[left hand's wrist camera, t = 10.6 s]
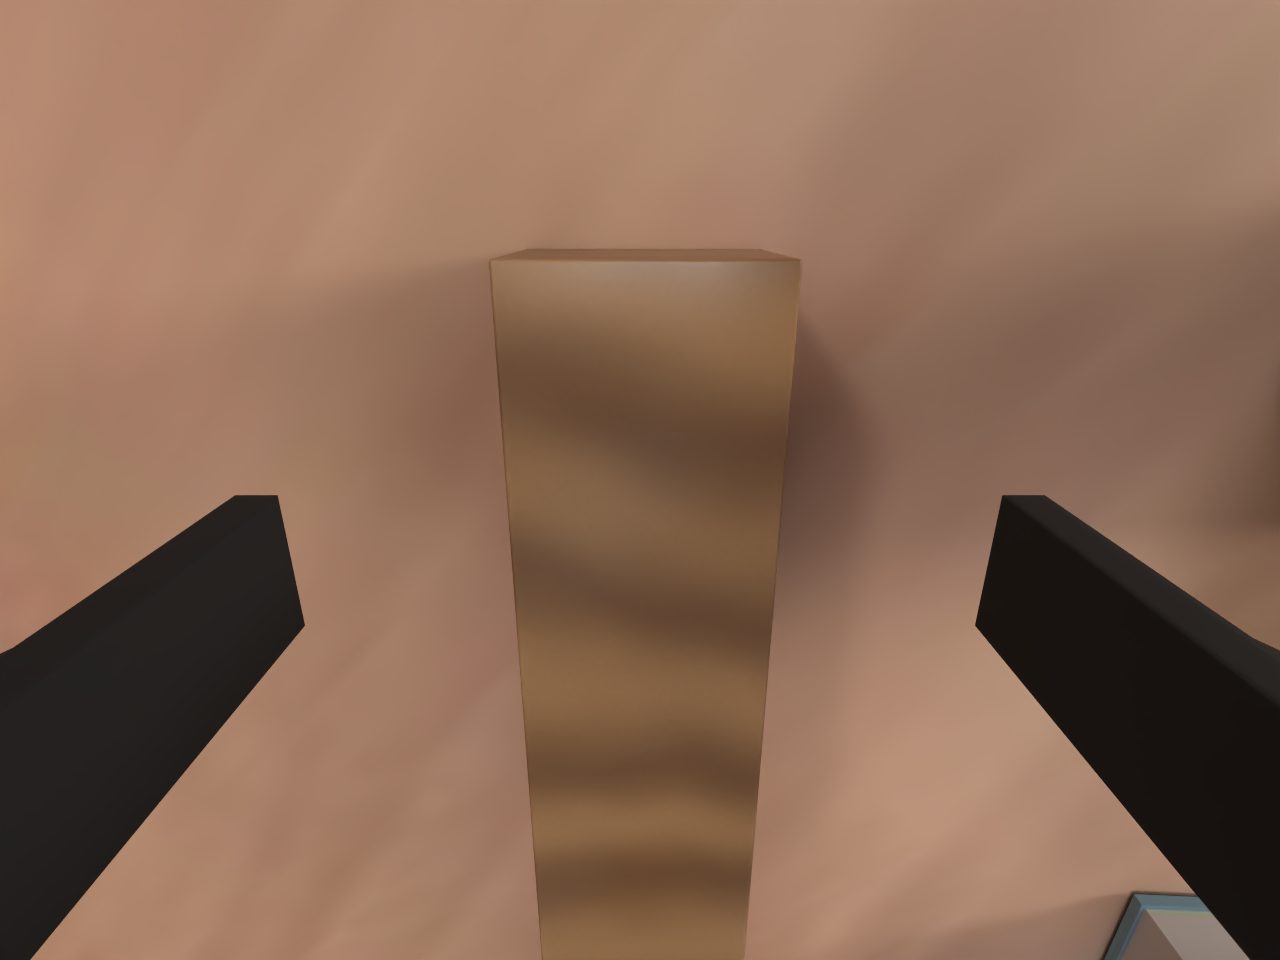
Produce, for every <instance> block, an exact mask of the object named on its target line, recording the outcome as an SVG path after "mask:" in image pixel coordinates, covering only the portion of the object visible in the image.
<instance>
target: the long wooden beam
mask: <svg viewBox="0 0 1280 960" xmlns="http://www.w3.org/2000/svg"><path fill="white" fill-rule="evenodd" d="M489 268H490V281H491V295H492V308H493V321H494V334H495V347H496V360H497V373H498V386H499V400H500V413H501V426H502V439H503V452H504V465H505V478H506V492H507V505H508V518H509V531H510V544H511V557H512V570H513V584H514V597H515V610H516V623H517V636H518V649H519V662H520V675H521V689H522V702H523V715H524V728H525V741H526V754H527V767H528V781H529V794H530V807H531V820H532V833H533V846H534V859H535V872H536V886H537V899H538V912H539V925H540V938H541V951H542V960H744V955H745V943H746V931H747V919H748V907H749V895H750V883H751V871H752V859H753V847H754V835H755V823H756V811H757V799H758V787H759V775H760V763H761V751H762V739H763V727H764V715H765V703H766V691H767V679H768V667H769V655H770V643H771V631H772V619H773V607H774V595H775V583H776V571H777V559H778V547H779V535H780V523H781V511H782V499H783V487H784V475H785V463H786V451H787V439H788V427H789V415H790V403H791V391H792V379H793V367H794V355H795V343H796V331H797V319H798V307H799V295H800V283H801V271H802V260H800V259H796V258H792V257H788V256H785V255H781V254H777V253H773V252H769V251H765V250H761V249H527V250H523V251H519V252H516V253H512V254H509V255H505V256H501V257H498V258H494V259H491V260H490V261H489Z"/></svg>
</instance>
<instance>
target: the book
mask: <svg viewBox="0 0 1280 960" xmlns="http://www.w3.org/2000/svg"><path fill="white" fill-rule="evenodd" d="M1104 960H1250V959H1249V958H1248V957H1247V956H1246V954H1245V953H1244V952H1243V951H1242V950H1241V948H1240V947H1239V946H1238V945H1237V944H1236V942H1235V941H1234V940H1233V939H1232V937H1231V936H1230V935H1229V934H1228V933H1227V931H1226V930H1225V929H1224V928H1223V926H1222V925H1221V924H1220V923H1219V922H1218V920H1217V919H1216V918H1215V917H1214V916H1213V914H1212V913H1211V912H1210V911H1209V909H1208V908H1207V907H1206V906H1205V905H1204V903H1203V902H1202V901H1201V900H1200V898H1199V897H1189V896H1166V895H1143V894H1134V895H1133V898H1132V900H1131V902H1130V904H1129V906H1128V908H1127V911H1126V913H1125V915H1124V917H1123V919H1122V922H1121V924H1120V926H1119V928H1118V930H1117V933H1116V935H1115V937H1114V939H1113V941H1112V944H1111V946H1110V948H1109V950H1108V952H1107V955H1106V957H1105V959H1104Z"/></svg>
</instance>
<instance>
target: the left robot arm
mask: <svg viewBox="0 0 1280 960" xmlns="http://www.w3.org/2000/svg"><path fill="white" fill-rule="evenodd" d="M304 626H305V624H304V619H303V614H302V609H301V605H300V600H299V595H298V590H297V586H296V581H295V576H294V571H293V566H292V562H291V557H290V552H289V547H288V543H287V538H286V533H285V528H284V524H283V519H282V514H281V509H280V505H279V500H278V495H235V496H234V497H232V498H231V499H229V500H228V501H226V502H225V503H223V504H222V505H221V506H219V507H218V508H216V509H215V510H213V511H212V512H210V513H209V514H207V515H206V516H205V517H203V518H202V519H200V520H199V521H197V522H196V523H194V524H193V525H191V526H190V527H188V528H187V529H186V530H184V531H183V532H181V533H180V534H178V535H177V536H175V537H174V538H172V539H171V540H170V541H168V542H167V543H165V544H164V545H162V546H161V547H159V548H158V549H156V550H155V551H153V552H152V553H151V554H149V555H148V556H146V557H145V558H143V559H142V560H140V561H139V562H137V563H136V564H135V565H133V566H132V567H130V568H129V569H127V570H126V571H124V572H123V573H121V574H120V575H119V576H117V577H116V578H114V579H113V580H111V581H110V582H108V583H107V584H105V585H104V586H102V587H101V588H100V589H98V590H97V591H95V592H94V593H92V594H91V595H89V596H88V597H86V598H85V599H84V600H82V601H81V602H79V603H78V604H76V605H75V606H73V607H72V608H70V609H69V610H67V611H66V612H65V613H63V614H62V615H60V616H59V617H57V618H56V619H54V620H53V621H51V622H50V623H49V624H47V625H46V626H44V627H43V628H41V629H40V630H38V631H37V632H35V633H34V634H32V635H31V636H30V637H28V638H27V639H25V640H24V641H22V642H21V643H19V644H18V645H16V646H15V647H14V648H11V649H9V650H7V651H5V652H3V653H1V654H0V960H30V959H31V958H32V957H33V956H34V954H35V953H36V952H37V951H38V950H39V948H40V947H41V946H42V945H43V944H44V942H45V941H46V940H47V939H48V937H49V936H50V935H51V934H52V933H53V931H54V930H55V929H56V928H57V926H58V925H59V924H60V923H61V922H62V920H63V919H64V918H65V917H66V916H67V914H68V913H69V912H70V911H71V909H72V908H73V907H74V906H75V905H76V903H77V902H78V901H79V900H80V898H81V897H82V896H83V895H84V894H85V892H86V891H87V890H88V889H89V888H90V886H91V885H92V884H93V883H94V881H95V880H96V879H97V878H98V877H99V875H100V874H101V873H102V872H103V871H104V869H105V868H106V867H107V866H108V864H109V863H110V862H111V861H112V860H113V858H114V857H115V856H116V855H117V853H118V852H119V851H120V850H121V849H122V847H123V846H124V845H125V844H126V843H127V841H128V840H129V839H130V838H131V836H132V835H133V834H134V833H135V832H136V830H137V829H138V828H139V827H140V825H141V824H142V823H143V822H144V821H145V819H146V818H147V817H148V816H149V815H150V813H151V812H152V811H153V810H154V808H155V807H156V806H157V805H158V804H159V802H160V801H161V800H162V799H163V798H164V796H165V795H166V794H167V793H168V791H169V790H170V789H171V788H172V787H173V785H174V784H175V783H176V782H177V780H178V779H179V778H180V777H181V776H182V774H183V773H184V772H185V771H186V770H187V768H188V767H189V766H190V765H191V763H192V762H193V761H194V760H195V759H196V757H197V756H198V755H199V754H200V752H201V751H202V750H203V749H204V748H205V746H206V745H207V744H208V743H209V742H210V740H211V739H212V738H213V737H214V735H215V734H216V733H217V732H218V731H219V729H220V728H221V727H222V726H223V725H224V723H225V722H226V721H227V720H228V718H229V717H230V716H231V715H232V714H233V712H234V711H235V710H236V709H237V707H238V706H239V705H240V704H241V703H242V701H243V700H244V699H245V698H246V697H247V695H248V694H249V693H250V692H251V690H252V689H253V688H254V687H255V686H256V684H257V683H258V682H259V681H260V679H261V678H262V677H263V676H264V675H265V673H266V672H267V671H268V670H269V669H270V667H271V666H272V665H273V664H274V662H275V661H276V660H277V659H278V658H279V656H280V655H281V654H282V653H283V651H284V650H285V649H286V648H287V647H288V645H289V644H290V643H291V642H292V641H293V639H294V638H295V637H296V636H297V634H298V633H299V632H300V631H301V630H302V628H303V627H304ZM975 626H976V627H977V628H978V630H979V631H980V632H981V633H982V634H983V636H984V637H985V638H986V639H987V641H988V642H989V643H990V644H991V645H992V647H993V648H994V649H995V650H996V652H997V653H998V654H999V655H1000V656H1001V658H1002V659H1003V660H1004V661H1005V662H1006V664H1007V665H1008V666H1009V667H1010V669H1011V670H1012V671H1013V672H1014V673H1015V675H1016V676H1017V677H1018V678H1019V679H1020V681H1021V682H1022V683H1023V684H1024V686H1025V687H1026V688H1027V689H1028V690H1029V692H1030V693H1031V694H1032V695H1033V697H1034V698H1035V699H1036V700H1037V701H1038V703H1039V704H1040V705H1041V706H1042V707H1043V709H1044V710H1045V711H1046V712H1047V714H1048V715H1049V716H1050V717H1051V718H1052V720H1053V721H1054V722H1055V723H1056V725H1057V726H1058V727H1059V728H1060V729H1061V731H1062V732H1063V733H1064V734H1065V735H1066V737H1067V738H1068V739H1069V740H1070V742H1071V743H1072V744H1073V745H1074V746H1075V748H1076V749H1077V750H1078V751H1079V752H1080V754H1081V755H1082V756H1083V757H1084V759H1085V760H1086V761H1087V762H1088V763H1089V765H1090V766H1091V767H1092V768H1093V770H1094V771H1095V772H1096V773H1097V774H1098V776H1099V777H1100V778H1101V779H1102V780H1103V782H1104V783H1105V784H1106V785H1107V787H1108V788H1109V789H1110V790H1111V791H1112V793H1113V794H1114V795H1115V796H1116V798H1117V799H1118V800H1119V801H1120V802H1121V804H1122V805H1123V806H1124V807H1125V808H1126V810H1127V811H1128V812H1129V813H1130V815H1131V816H1132V817H1133V818H1134V819H1135V821H1136V822H1137V823H1138V824H1139V825H1140V827H1141V828H1142V829H1143V830H1144V832H1145V833H1146V834H1147V835H1148V836H1149V838H1150V839H1151V840H1152V841H1153V843H1154V844H1155V845H1156V846H1157V847H1158V849H1159V850H1160V851H1161V852H1162V853H1163V855H1164V856H1165V857H1166V858H1167V860H1168V861H1169V862H1170V863H1171V864H1172V866H1173V867H1174V868H1175V869H1176V871H1177V872H1178V873H1179V874H1180V875H1181V877H1182V878H1183V879H1184V880H1185V881H1186V883H1187V884H1188V885H1189V886H1190V888H1191V889H1192V890H1193V891H1194V892H1195V894H1196V895H1197V896H1198V897H1199V898H1200V900H1201V901H1202V902H1203V903H1204V905H1205V906H1206V907H1207V908H1208V909H1209V911H1210V912H1211V913H1212V914H1213V916H1214V917H1215V918H1216V919H1217V920H1218V922H1219V923H1220V924H1221V925H1222V926H1223V928H1224V929H1225V930H1226V931H1227V933H1228V934H1229V935H1230V936H1231V937H1232V939H1233V940H1234V941H1235V942H1236V944H1237V945H1238V946H1239V947H1240V948H1241V950H1242V951H1243V952H1244V953H1245V954H1246V956H1247V957H1248V958H1249V959H1250V960H1280V651H1279V650H1277V649H1275V648H1273V647H1271V646H1269V645H1266V644H1264V643H1262V642H1260V641H1258V640H1256V639H1254V638H1252V637H1250V636H1249V635H1248V634H1246V633H1245V632H1243V631H1242V630H1240V629H1239V628H1237V627H1236V626H1234V625H1233V624H1231V623H1230V622H1229V621H1227V620H1226V619H1224V618H1223V617H1221V616H1220V615H1218V614H1217V613H1215V612H1214V611H1213V610H1211V609H1210V608H1208V607H1207V606H1205V605H1204V604H1202V603H1201V602H1199V601H1198V600H1196V599H1195V598H1194V597H1192V596H1191V595H1189V594H1188V593H1186V592H1185V591H1183V590H1182V589H1180V588H1179V587H1178V586H1176V585H1175V584H1173V583H1172V582H1170V581H1169V580H1167V579H1166V578H1164V577H1163V576H1161V575H1160V574H1159V573H1157V572H1156V571H1154V570H1153V569H1151V568H1150V567H1148V566H1147V565H1145V564H1144V563H1143V562H1141V561H1140V560H1138V559H1137V558H1135V557H1134V556H1132V555H1131V554H1129V553H1128V552H1127V551H1125V550H1124V549H1122V548H1121V547H1119V546H1118V545H1116V544H1115V543H1113V542H1112V541H1110V540H1109V539H1108V538H1106V537H1105V536H1103V535H1102V534H1100V533H1099V532H1097V531H1096V530H1094V529H1093V528H1092V527H1090V526H1089V525H1087V524H1086V523H1084V522H1083V521H1081V520H1080V519H1078V518H1077V517H1075V516H1074V515H1073V514H1071V513H1070V512H1068V511H1067V510H1065V509H1064V508H1062V507H1061V506H1059V505H1058V504H1057V503H1055V502H1054V501H1052V500H1051V499H1049V498H1048V497H1046V496H1045V495H1002V500H1001V505H1000V509H999V514H998V519H997V524H996V528H995V533H994V538H993V543H992V547H991V552H990V557H989V562H988V566H987V571H986V576H985V581H984V586H983V590H982V595H981V600H980V605H979V609H978V614H977V619H976V624H975Z"/></svg>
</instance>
